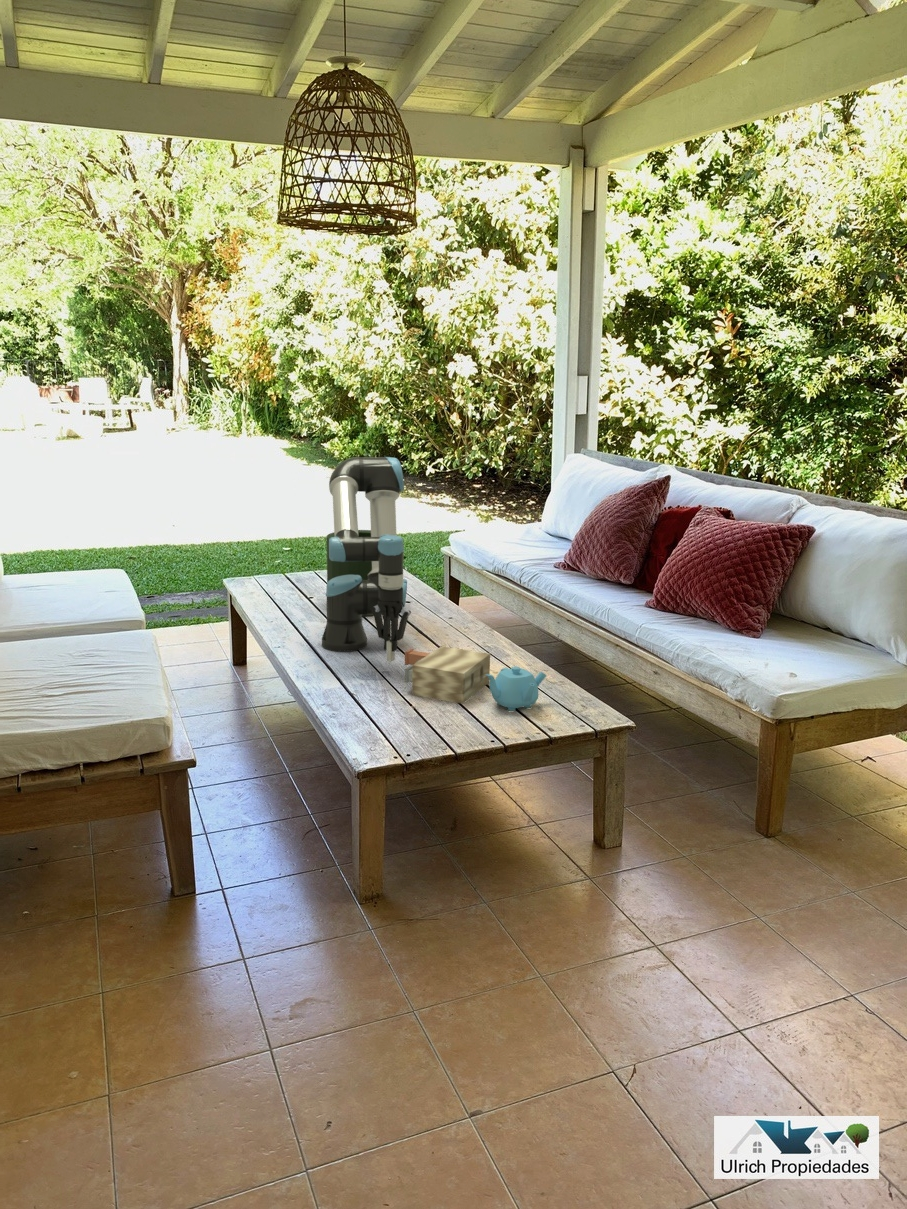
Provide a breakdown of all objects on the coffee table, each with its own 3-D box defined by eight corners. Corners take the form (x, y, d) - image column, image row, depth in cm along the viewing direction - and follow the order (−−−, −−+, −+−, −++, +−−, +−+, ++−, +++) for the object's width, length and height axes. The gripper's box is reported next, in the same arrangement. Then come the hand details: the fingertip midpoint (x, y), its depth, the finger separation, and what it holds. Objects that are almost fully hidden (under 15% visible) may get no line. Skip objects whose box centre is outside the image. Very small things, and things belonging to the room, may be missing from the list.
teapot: (531, 718, 261) (533, 679, 258) (483, 711, 265) (484, 672, 262) (545, 700, 275) (547, 662, 272) (500, 693, 279) (501, 656, 276)
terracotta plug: (404, 664, 293) (404, 652, 292) (410, 661, 297) (410, 648, 295) (455, 673, 286) (455, 660, 285) (460, 669, 290) (461, 656, 289)
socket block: (412, 694, 277) (412, 665, 274) (440, 674, 294) (441, 646, 292) (463, 703, 271) (463, 673, 268) (489, 682, 288) (490, 653, 286)
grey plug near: (404, 682, 278) (404, 669, 277) (410, 678, 281) (410, 665, 280) (458, 691, 271) (458, 678, 270) (463, 687, 275) (464, 674, 274)
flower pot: (406, 606, 370) (407, 535, 362) (366, 621, 349) (366, 545, 342) (355, 596, 383) (354, 527, 375) (313, 610, 362) (312, 537, 355)
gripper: (366, 587, 290) (366, 660, 296) (404, 592, 285) (403, 667, 291) (377, 581, 297) (377, 654, 303) (415, 586, 292) (414, 660, 298)
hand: (390, 660), depth 297 cm, fingers closed
